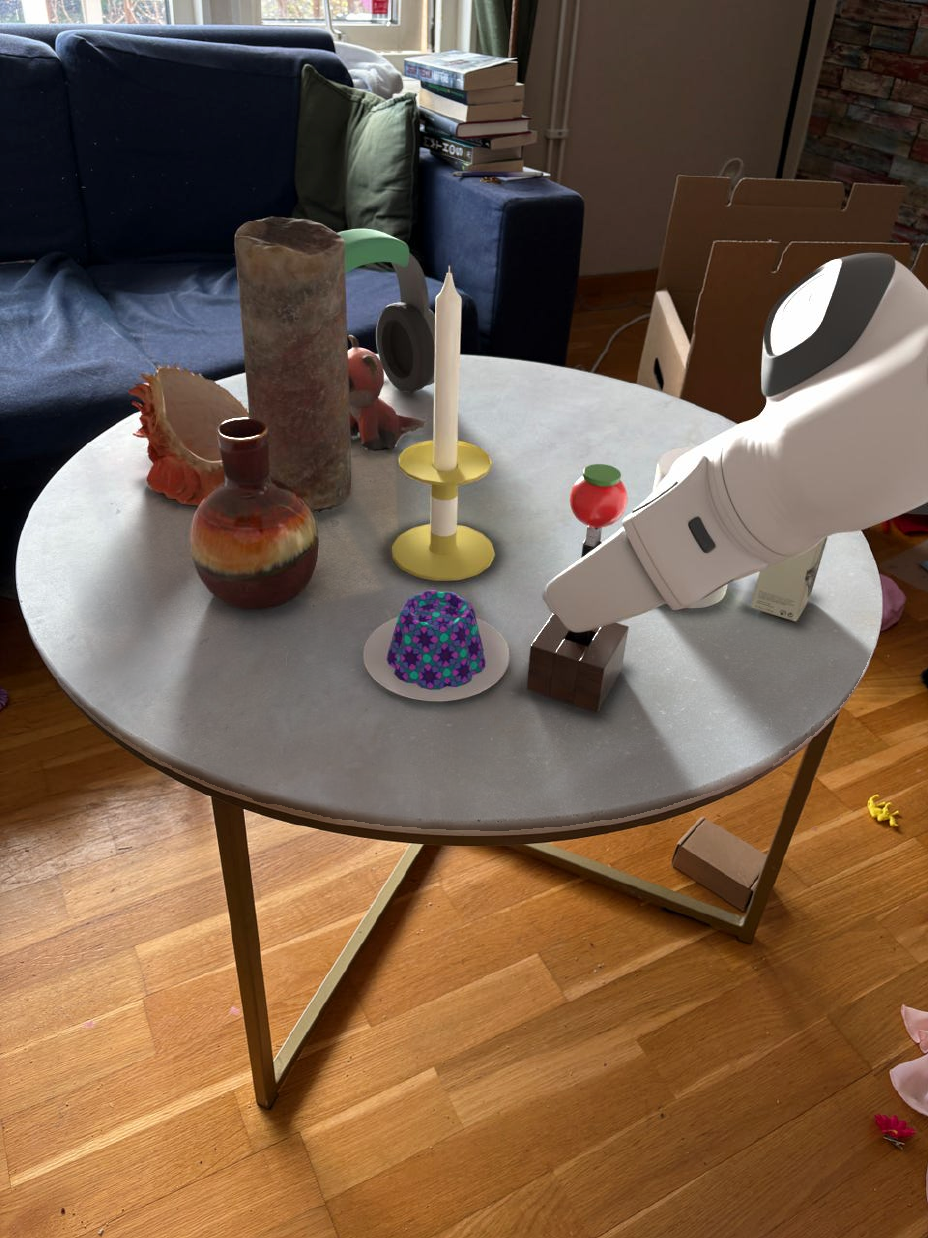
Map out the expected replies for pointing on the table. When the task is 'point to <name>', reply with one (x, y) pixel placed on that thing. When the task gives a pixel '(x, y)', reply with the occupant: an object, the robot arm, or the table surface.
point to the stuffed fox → (373, 403)
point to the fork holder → (576, 664)
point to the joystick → (597, 510)
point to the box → (788, 584)
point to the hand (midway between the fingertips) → (589, 574)
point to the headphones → (398, 310)
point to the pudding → (436, 650)
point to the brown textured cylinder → (298, 352)
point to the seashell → (184, 431)
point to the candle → (444, 468)
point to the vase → (252, 526)
